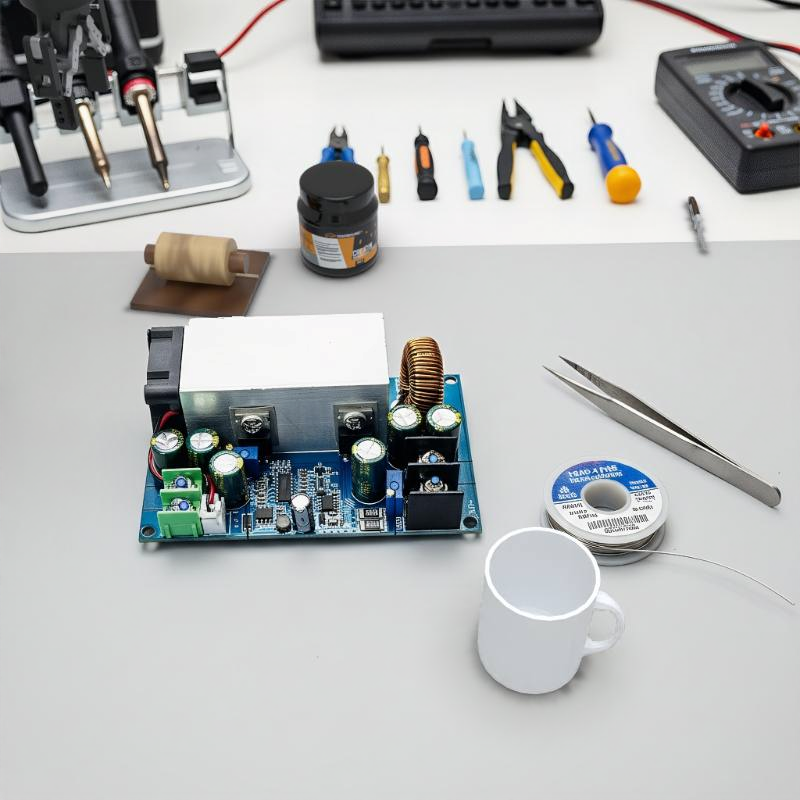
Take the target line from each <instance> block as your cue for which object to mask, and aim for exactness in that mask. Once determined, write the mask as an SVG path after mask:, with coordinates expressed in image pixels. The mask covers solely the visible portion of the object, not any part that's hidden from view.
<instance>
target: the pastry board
mask: <svg viewBox="0 0 800 800" xmlns="http://www.w3.org/2000/svg"><path fill="white" fill-rule="evenodd" d="M237 249H238V248H237ZM238 252H239V253H247V254H248V255H249V269H248V272H247V273H246V274H241V273H236V276H235V279H234V282H233V283H232V285H230V286H225V285H215V284H205V283H195V282H185V281H175V280H165V279H160V278H159V277H158V276H157V274H156V271H155V265H149V269H148V270H147V272H146V274H145V276H144V277H143V279H142V280H141V283H140V284H139V286H138V288H137V289H136V291H135V293H134V294H133V296H132V298H131V300H130V302H129V305H130V306H129V307H130V309H131V310H137V311H145V312H157V313H165V314H176V315H187V316H196V317H205V318H214V317H232V316H245V317H246V315H247V313H248V310H249V308H250V306H251V304H252V301H253V299H254V297H255V294H256V292H257V289H258V288H259V285H260V283H261V280H262V278H263V276H264V273H265V271H266V269H267V266H268V265H269V262H270V259H271V253H270V251H262V250H253V249H252V250H251V249H238Z"/></svg>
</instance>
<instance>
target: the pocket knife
mask: <svg viewBox="0 0 800 800" xmlns="http://www.w3.org/2000/svg"><path fill="white" fill-rule="evenodd" d="M687 206H688V208H689V210H690V213H691V214H690V215H691V220H692V221H693V227H694V230H695V231H696V232H697V235H698V239H699V242H700V246H701V248H702V250H703V251H706V244H705V238H704V234H703V226H702V225H703V224H702V222H703V219H702V216H701V212H700V207H699V206H698V202H697V200H696V197H694V196H691V195H689V196H688V197H687Z"/></svg>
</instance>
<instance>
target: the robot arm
mask: <svg viewBox="0 0 800 800" xmlns="http://www.w3.org/2000/svg"><path fill="white" fill-rule="evenodd" d="M18 1H19V3H20V4H21V5H22V6H23V7H24V8H26V9H28V10H30V11H31V12H32V13H33V14H34V15H35V16H36V22H37V33H36V34H34V35H23V37H22V47H23V52H24V56H25V60H26V64H27V69H28V73H29V78H30V82H31V86H32V91H33V95H34V97H35V98H36V99H49V101H50V105H51V108H52V113H53V116H54V120H55V124H56V127H57V128H58V129H60V130H62V131H77V130H78V129H79V127H80V126H81V123H80V117H79V114H78V109H77V106H76V101H75V97H74V94H73V93H72V91H73V76H74V75H76V74H77V72H78V70H79V57H80V55H82V57H81V60H82V61H81V62H82V66H83V69H84V74H85V79H86V84H87V88H88V90H90V91H91V92H93V93H94V92H95V93H107V92H108V91H109V90H110V88H111V84H110V79H109V74H108V70H107V69H108V68H107V65H106V60H105V57H106V55H107V46H106V44H111V42H112V32H111V28H110V25H109V20H108V16H107V10H106V6H105V2H104V0H18ZM95 23H97V24H98V25H99V29H100V30H99V29H98V27H97V26H96V24H95ZM57 60H65V62H59V61H57ZM60 73H61V74H62V76H61V75H60ZM42 76H43V80H42ZM61 77H62V79H61Z"/></svg>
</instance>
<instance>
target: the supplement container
mask: <svg viewBox="0 0 800 800" xmlns="http://www.w3.org/2000/svg"><path fill="white" fill-rule="evenodd" d="M298 186H299V187H298V188H299V196H298V198H297V201H296V211H297V215H298V216H297V217H298V228H299V229H298V230H299V242H300V249H299V251H300V257H301V259H302V261H303V262H304V264H305V265H306V266H307V267H308V268H309V269H310V270H312V271H314V272H316V273H318V274H320V275H324V276H328V277H339V278H340V277H348V276H354V275H357V274H360V273H362V272H364V271H366V270H368V269H369V268H370V267H371V266H372V265H373V264H374V263H375V262H376V261H377V258H378V255H379V250H380V249H379V228H378V227H379V225H378V224H379V220H378V219H379V216H378V214H379V213H378V211H379V198H378V196H377V194H376V193H375V177H374V175H373V172H372V171H370V170H369V169H368V168H367V167H365V166H363V165H362V164H359V163H356V162H352V161H347V160H328V161H323V162H319V163H316V164H313V165H312V166H309V167H308V168H307V169H305V170H304V171H303V172H302V173H301V175H300V176H299V180H298Z"/></svg>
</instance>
